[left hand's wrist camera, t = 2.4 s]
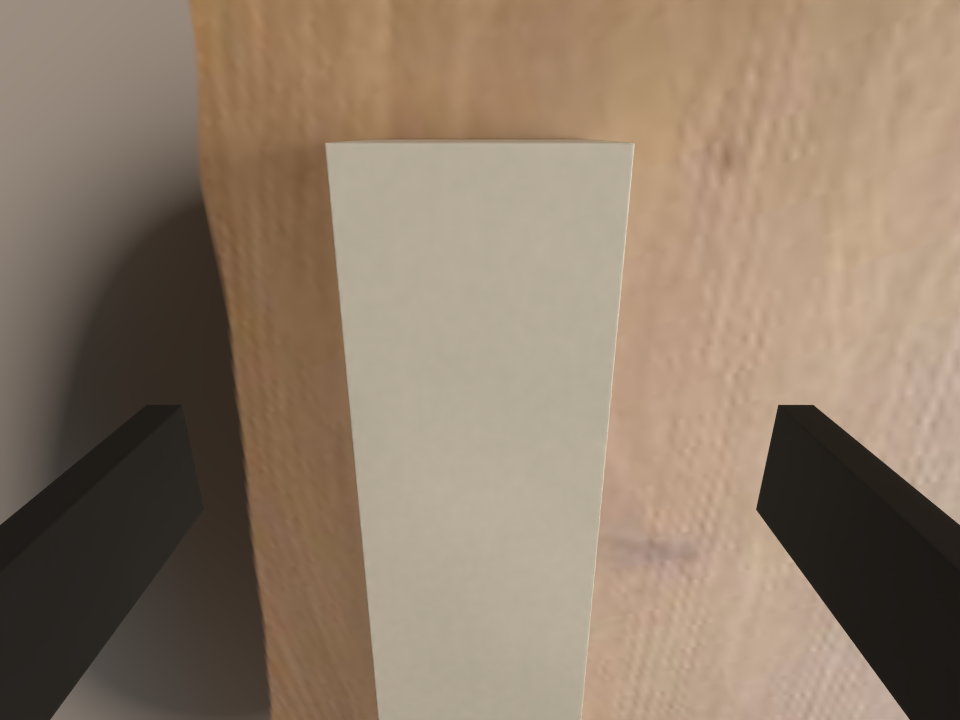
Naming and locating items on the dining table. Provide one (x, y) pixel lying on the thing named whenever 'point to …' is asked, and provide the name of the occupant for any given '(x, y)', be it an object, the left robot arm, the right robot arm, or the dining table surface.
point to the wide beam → (479, 409)
